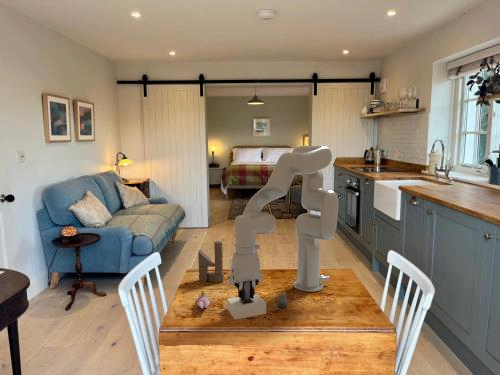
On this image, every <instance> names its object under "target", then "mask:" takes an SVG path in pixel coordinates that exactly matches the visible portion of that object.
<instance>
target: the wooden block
mask: <svg viewBox="0 0 500 375" xmlns="http://www.w3.org/2000/svg"><path fill="white" fill-rule="evenodd" d="M213 246H214V247H213V249H214V261H213V260H212V259H211V257H209V256H208V255H207V254H206V253H205V252H204V251H203V250H202V249H201V248H200V249H199V250H198V252H197V253H198V282H199V283H207V282H210V283H223V282H224V280H225V274H224V273H225V272H224V269H223V268H224V267H223V266H224V265H223V264H224V263H223V258H224V257H223V242H222V241H221V240H219V241H218V240H217V241H214V245H213ZM209 267H211V268H214V271H209Z"/></svg>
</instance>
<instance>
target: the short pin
mask: <svg viewBox="0 0 500 375" xmlns="http://www.w3.org/2000/svg"><path fill="white" fill-rule="evenodd" d="M277 296H278V297H277V298H278V302H277V303H278V305H277V308H279V309H281V310H284V309H287V307H288V295H287V294H286V293H280V294H278V295H277Z"/></svg>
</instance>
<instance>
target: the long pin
mask: <svg viewBox="0 0 500 375" xmlns="http://www.w3.org/2000/svg"><path fill="white" fill-rule="evenodd" d="M242 288H243V290H244V300H243V301H242V304H248V303H251V281H244V282H243V287H242Z"/></svg>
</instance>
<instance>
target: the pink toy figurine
mask: <svg viewBox="0 0 500 375" xmlns="http://www.w3.org/2000/svg"><path fill="white" fill-rule="evenodd" d="M211 300H212V298H208V296H207V294H206V293H205V291H204V290H201V293H200V294H199V295H198V298H197V299H194V301H195V302H196V305H197V306H198V307H200V309H207V308H208V307H209V305H210V304H211Z"/></svg>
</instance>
